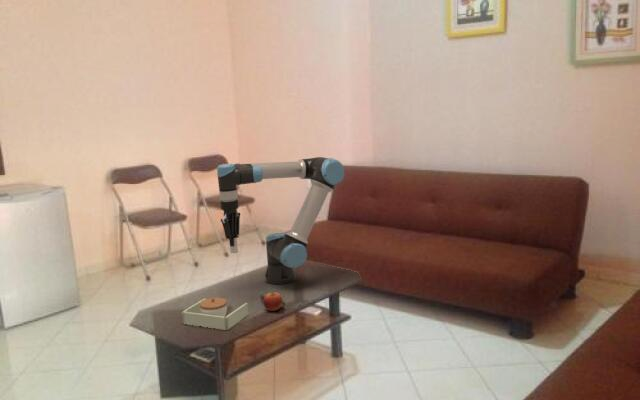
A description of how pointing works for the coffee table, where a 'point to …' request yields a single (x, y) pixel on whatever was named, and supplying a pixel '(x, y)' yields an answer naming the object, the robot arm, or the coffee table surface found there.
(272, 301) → the apple
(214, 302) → the lidded jar
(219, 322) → the bin
